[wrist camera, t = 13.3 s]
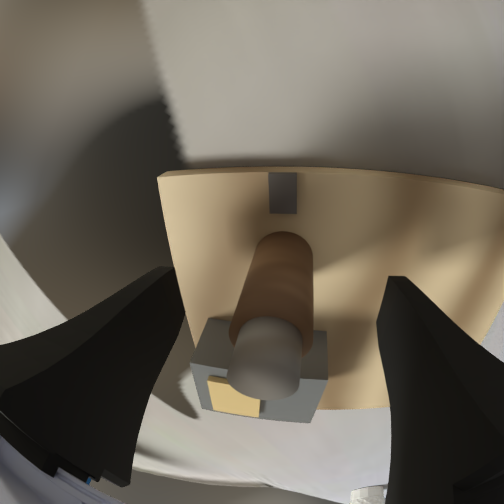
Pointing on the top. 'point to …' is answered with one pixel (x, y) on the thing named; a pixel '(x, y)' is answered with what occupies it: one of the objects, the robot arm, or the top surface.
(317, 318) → the plywood board
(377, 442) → the top surface
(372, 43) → the top surface
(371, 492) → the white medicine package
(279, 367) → the grey-capped wooden dowel
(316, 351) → the block
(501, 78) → the top surface
